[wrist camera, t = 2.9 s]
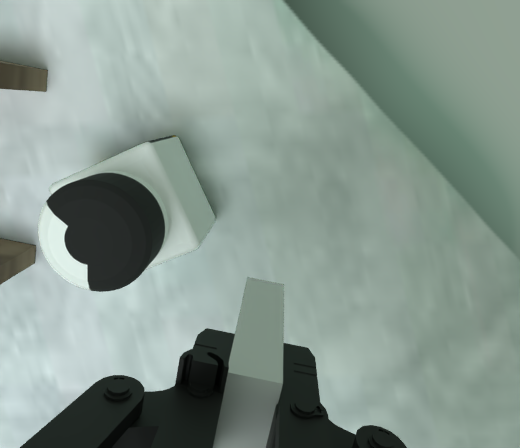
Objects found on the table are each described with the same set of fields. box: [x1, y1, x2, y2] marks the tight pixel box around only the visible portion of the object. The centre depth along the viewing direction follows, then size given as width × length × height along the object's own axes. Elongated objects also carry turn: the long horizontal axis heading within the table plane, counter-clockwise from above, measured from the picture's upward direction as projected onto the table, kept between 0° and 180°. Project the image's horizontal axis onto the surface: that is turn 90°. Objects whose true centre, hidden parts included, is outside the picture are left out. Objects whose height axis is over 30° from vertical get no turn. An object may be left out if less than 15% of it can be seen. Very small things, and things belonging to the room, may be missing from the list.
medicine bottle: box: [38, 135, 216, 292], centre depth 28 cm, size 7×7×12 cm
